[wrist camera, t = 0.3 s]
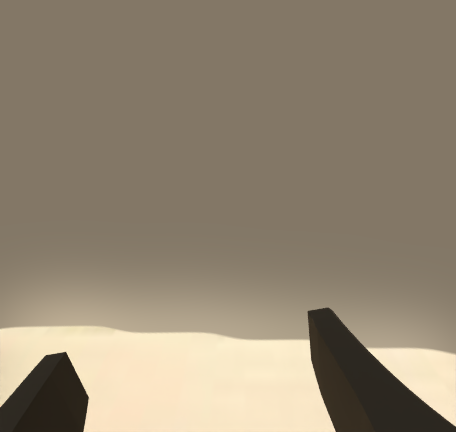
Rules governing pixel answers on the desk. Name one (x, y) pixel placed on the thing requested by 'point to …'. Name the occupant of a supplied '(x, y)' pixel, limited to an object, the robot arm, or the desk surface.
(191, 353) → the desk surface
